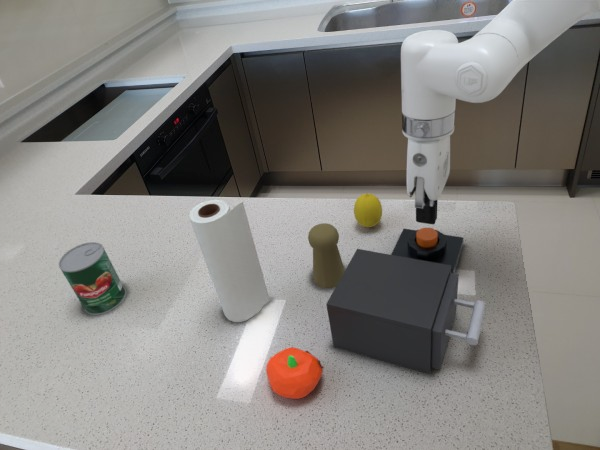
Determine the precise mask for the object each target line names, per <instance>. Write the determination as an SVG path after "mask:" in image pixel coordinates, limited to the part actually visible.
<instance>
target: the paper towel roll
mask: <svg viewBox="0 0 600 450" xmlns="http://www.w3.org/2000/svg"><path fill="white" fill-rule="evenodd" d="M188 215H189V216H188V217H189V222H190V224H191V227H192V230H193V232H194V235H195V238H196V240H197V244H198V247H199V249H200V251H201V255H202V257H203V260H204V262H205V265H206V269H207V270H208V274H209V276H210V278H211V281H212V285H213V287H214V290H215V292H216V295H217V299H218V301H219V304H220V306H221V309H222V311H223V314H224V316H225V318H226V319H227V320H228V321H230V322H232V323H242V322H243V323H244V322H246V321H248V320H250V319H252V318H253V317H255V316H256V315H257V314H259V313H260V311H261V310H262V309H263V308H264V306H265V305H267V304H268V303H270V302H271V299H270V295H269V291H268V288H267V283H266V281H265V278H264V273H263V269H262V266H261V263H260V258H259V256H258V251H257V247H256V244H255V241H254V237H253V233H252V229H251V226H250V222H249V219H248V215H247V211H246V208H245V204H244V201H242V202H241V201H240V202H239V203H237V204H236V205H235V206H233V207H232V208H230V206H229V202H228V203H227V201H225V200H222V199H209V200H205V201H202V202H200V203H199V204H197V205H195V206H194V207H193V208H191V210H190V212H189V214H188Z"/></svg>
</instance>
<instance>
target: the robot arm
mask: <svg viewBox="0 0 600 450" xmlns="http://www.w3.org/2000/svg"><path fill="white" fill-rule="evenodd" d="M597 12H600V0H511V1H510V2H509V3H508V4H507V5H506V6H505V7H504V8H502V10H501V11H500V12H499V13H498V14H497V15H495V17H494V18H492V19H491V21H490V22H488V23H487V24H486V25H485V26H484V27H483V28H481V29H480V30H479V31H478V32H476V34H474V35H473V36H472V37H471V38H469V39H466V40H463V41H461V42H459V40H458V38H457V36H456V35H455V34H454V33H453V32H452V31H449V30H444V29H428V30H422V31H417V32H415V33H412V34H410V35H408V36H407V37H406V38H404V40H403V41H402V44H401V47H400V85H401V89H400V91H401V133H402V135H403V136H404V137H405V138H407V149H406V193H407V197H409V198H412V197H413V196H414V194H415V197H414V199H415V200H414V208H415V221H416V222H417V223H421V224H427V225H435V224H436V221H437V219H438V199H440V197H441V195H442V194H443V191H444V189H445V186H446V184H447V181H448V179H449V176H450V174H451V173H450V172H451V136H452V135H453V134H454V132H455V125H456V124H455V121H456V106H457V105H456V104H457V100H459V101H463V102H467V103H473V104H481V103H486V102H489V101H492V100H493V99H495V98H497V97H498V96H499V95H501V94H502V92H503V91H504V90H505V89H506V88H507V86H508V85H509V84H510V83H511V82H512V80H513V79H514V78H515V77H516V76H517V74H518V73H519V72H520V71H521V70H522V69H523V68H524V67H525V66H526V65H527V64H528V63H529V62H530V61H531V60H532V59H533V58H535V57H536V56H537V55H539V53H540V52H542V51H543V50H544V49H545V48H546V47H548V46H549V45H550V44H551V43H552V42H554V41H555V40H556V39H557V38H559V37H560V36H561V35H562V34H564V33H565V32H566V31H568V30H569V29H570V28H572V27H573V26H574V25H576V24H577V23H578V22H580V21H581V20H583V19H584V18H586V17H587V16H590V15H592V14H594V13H597Z"/></svg>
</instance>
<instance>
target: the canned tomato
mask: <svg viewBox="0 0 600 450" xmlns="http://www.w3.org/2000/svg"><path fill="white" fill-rule="evenodd" d="M58 268H59V270H60V271H61V272H62V274H63V277H65V279H66V280H67V283H68V285H69V286H70V288H71V289H72V290H73V293H74V294H75V296H76V298H77V299H78V301H79V302H80V304H81V305H82V308H83V309H84V311H85V312H86V313H87V314H88V315H92V316H99V315H103V314H107V313H109V312H111V311H113V310H115V309H116V308H117V307H119V306H120V305H121V304H122V303H123V302H124V300H125V298H126V295H127V290H126V288H125V287H124V284H123V282H122V281H121V278H120V277H119V275H118V272H117V271H116V269H115V267H114V265H113V263H112V261H111V259H110V257H109V255H108V253H107V251H106V250H105V247H104V245H103V244H102V243H100V242H96V241H89V242H84V243H81V244H79V245H76V246H74V247H72V248H71V249H69V250H68V251H66V252H65V253H64V254H63V255H62V256H61V258H59V261H58Z"/></svg>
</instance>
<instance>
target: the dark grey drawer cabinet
mask: <svg viewBox="0 0 600 450" xmlns="http://www.w3.org/2000/svg"><path fill="white" fill-rule="evenodd" d="M450 273H451V265H445V264H440V263H434V262H429V261H423V260H417V259H412V258H406V257H401V256H395V255H391V254H389V253H383V252H378V251H372V250H367V249H361V248H356V250H355V252H354V254H353V255H352V257H351V259H350V261H349V262H348V264H347V266H346V267H345V271H344V273H343V275H342V277H341V279H340V280H339V282H338V284H337V286H336V287H334V288H333V291H332V293H331V295H330V297H328V300H327V302H326V310H327V315H328V322H329V327H330V333H331V339H332V346H333V348H335V349H338V350H342V351H346V352H350V353H353V354H355V355H356V354H357V355H360V356H363V357H366V358H367V357H368V358H371V359H374V360H377V361H381V362H385V363H388V364H392V365H395V366H397V367H398V366H399V367H402V368H406V369H409V370H413V371H417V372H420V373H424V374H427V375H431V373H432V370H433V368H432V367H431V359H432V328H433V325H434V322H435V319H436V315H437V312H438V309H439V307H440V304H441V301H442V297H443V294H444V291H445V288H446V285H447V282H448V279H449V275H450Z"/></svg>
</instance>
